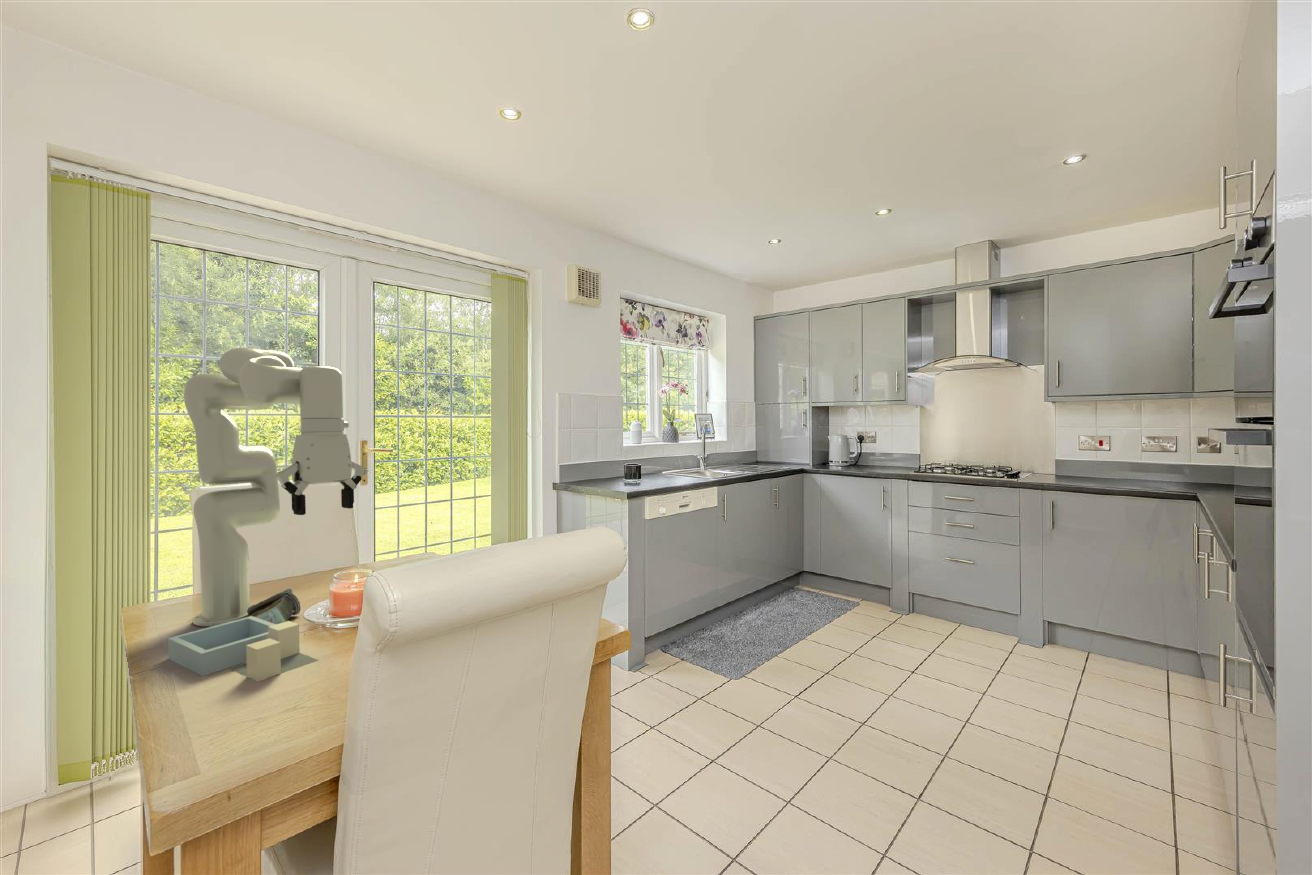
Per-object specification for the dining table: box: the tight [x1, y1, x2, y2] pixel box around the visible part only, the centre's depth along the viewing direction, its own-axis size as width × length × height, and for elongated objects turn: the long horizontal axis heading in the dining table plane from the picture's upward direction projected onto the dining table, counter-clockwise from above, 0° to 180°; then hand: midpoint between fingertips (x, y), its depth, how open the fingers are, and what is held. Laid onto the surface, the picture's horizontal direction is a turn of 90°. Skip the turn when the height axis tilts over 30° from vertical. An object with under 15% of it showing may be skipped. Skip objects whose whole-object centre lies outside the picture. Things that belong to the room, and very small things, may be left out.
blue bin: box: [167, 616, 276, 677], centre depth 118 cm, size 15×15×4 cm
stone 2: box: [268, 620, 301, 659], centre depth 117 cm, size 4×4×6 cm
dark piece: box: [247, 588, 301, 624], centre depth 137 cm, size 10×7×12 cm
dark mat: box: [228, 652, 318, 682], centre depth 112 cm, size 11×11×1 cm
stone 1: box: [246, 638, 282, 682], centre depth 108 cm, size 4×4×6 cm
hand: (324, 511), depth 116 cm, fingers open, 9 cm apart
